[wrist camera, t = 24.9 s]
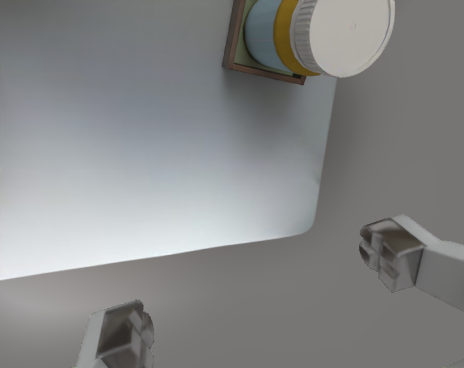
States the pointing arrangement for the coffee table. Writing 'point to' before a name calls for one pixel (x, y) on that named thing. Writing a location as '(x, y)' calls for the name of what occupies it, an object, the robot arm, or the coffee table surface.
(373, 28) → the bottle
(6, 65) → the coffee table surface
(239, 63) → the dark brown planter box
